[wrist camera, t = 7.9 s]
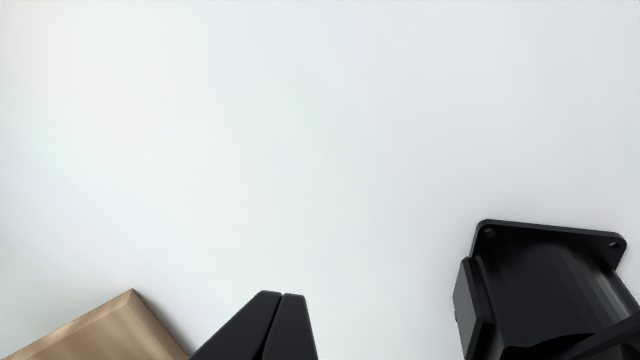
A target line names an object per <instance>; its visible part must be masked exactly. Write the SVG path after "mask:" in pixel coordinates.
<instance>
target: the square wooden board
mask: <svg viewBox="0 0 640 360" xmlns="http://www.w3.org/2000/svg"><path fill="white" fill-rule="evenodd" d="M188 358H189V356H188V355H187V354H186V352H185V351H184V350H183V349H182V348H181V346H180V345H179V344H178V343H177V342H176V340H175V339H174V338H173V337H172V335H171V334H170V333H169V332H168V331H167V329H166V328H165V327H164V326H163V325H162V323H161V322H160V321H159V320H158V318H157V317H156V316H155V315H154V314H153V312H152V311H151V310H150V309H149V308H148V306H147V305H146V304H145V303H144V302H143V300H142V299H141V298H140V297H139V295H138V294H137V293H136V292H135V291H134V289H133V288H132V289H130V290H128V291H127V292H125V293H123V294H121V295H119V296H117V297H116V298H114V299H112V300H110V301H108V302H106V303H105V304H103V305H101V306H99V307H97V308H96V309H94V310H92V311H90V312H88V313H86V314H85V315H83V316H81V317H79V318H77V319H75V320H74V321H72V322H70V323H68V324H66V325H64V326H63V327H61V328H59V329H57V330H55V331H54V332H52V333H50V334H48V335H46V336H44V337H43V338H41V339H39V340H37V341H35V342H33V343H32V344H30V345H28V346H26V347H24V348H23V349H21V350H19V351H17V352H15V353H13V354H12V355H10V356H8V357H6V358H4V359H2V360H187V359H188Z"/></svg>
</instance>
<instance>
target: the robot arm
mask: <svg viewBox="0 0 640 360" xmlns="http://www.w3.org/2000/svg"><path fill="white" fill-rule="evenodd" d="M488 228H491V229H492V231H490V232H484V230H486V229H488ZM612 242H616V243H615V244H614V245H612V246H609V244H610V243H612ZM626 246H627V243H626V241H625V240H624V238H623V237H622V236H621V235H620V234H619V233H615V232H607V231H597V230H588V229H578V228H569V227H559V226H550V225H540V224H531V223H521V222H512V221H502V220H493V219H485V220H483V221H481V222H479V223H478V225H477V227H476V231H475V235H474V238H473V242H472V246H471V250H470V254H469V257H465V258H464V259H463V260H462V261H461V265H460V269H459V273H458V277H457V281H456V285H455V289H454V293H453V302H454V308H455V319H456V321H457V323H458V329H459V334H460V339H461V344H462V349H463V355H464V359H465V360H640V306H639V304H638V303H637V302H636V300H635V299H634V297H633V296H632V295H631V293H630V292H629V290H628V289H627V288H626V286H625V285H624V283H623V282H622V281H621V279H620V278H619V276H618V275H617V274H616V272H615V270H616V268H617V266H618V264H619V262H620V260H621V258H622V256H623V254H624V251H625V249H626ZM187 360H318V355H317V351H316V346H315V341H314V337H313V332H312V327H311V323H310V318H309V314H308V309H307V304H306V300H305V297H304V296H303V295H298V294H290V293H285V294H284V295H282V294H281V293H280V292H274V291H266V290H262V291H260V292H259V293H257V294H256V295H255V296H254V297H253V298H252V299H251V300H250V301H249V302H248V303H247V304H246V305H245V306H244V307H243V308H242V309H240V310H239V311H238V312H237V313H236V314H235V315H234V316H233V317H232V318H231V319H230V320H229V321H228V322H227V323H226V324H225V325H223V326H222V327H221V328H220V329H219V330H218V331H217V332H216V333H215V334H214V335H213V336H212V337H211V338H210V339H209V340H208V341H206V342H205V343H204V344H203V345H202V346H201V347H200V348H199V349H198V350H197V351H196V352H195V353H194V354H193V355H192V356H191V357H189V358H188V359H187Z"/></svg>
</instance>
